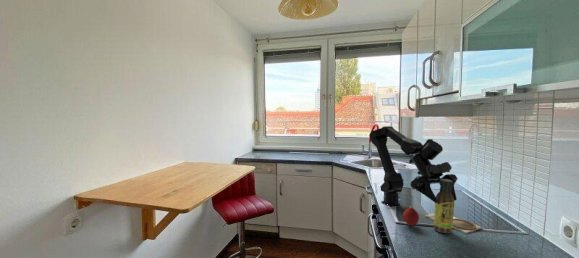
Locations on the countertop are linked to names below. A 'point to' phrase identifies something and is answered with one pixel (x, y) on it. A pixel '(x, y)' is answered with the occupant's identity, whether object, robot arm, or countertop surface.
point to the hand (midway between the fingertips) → (446, 201)
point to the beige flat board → (460, 224)
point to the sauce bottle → (444, 207)
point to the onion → (410, 216)
